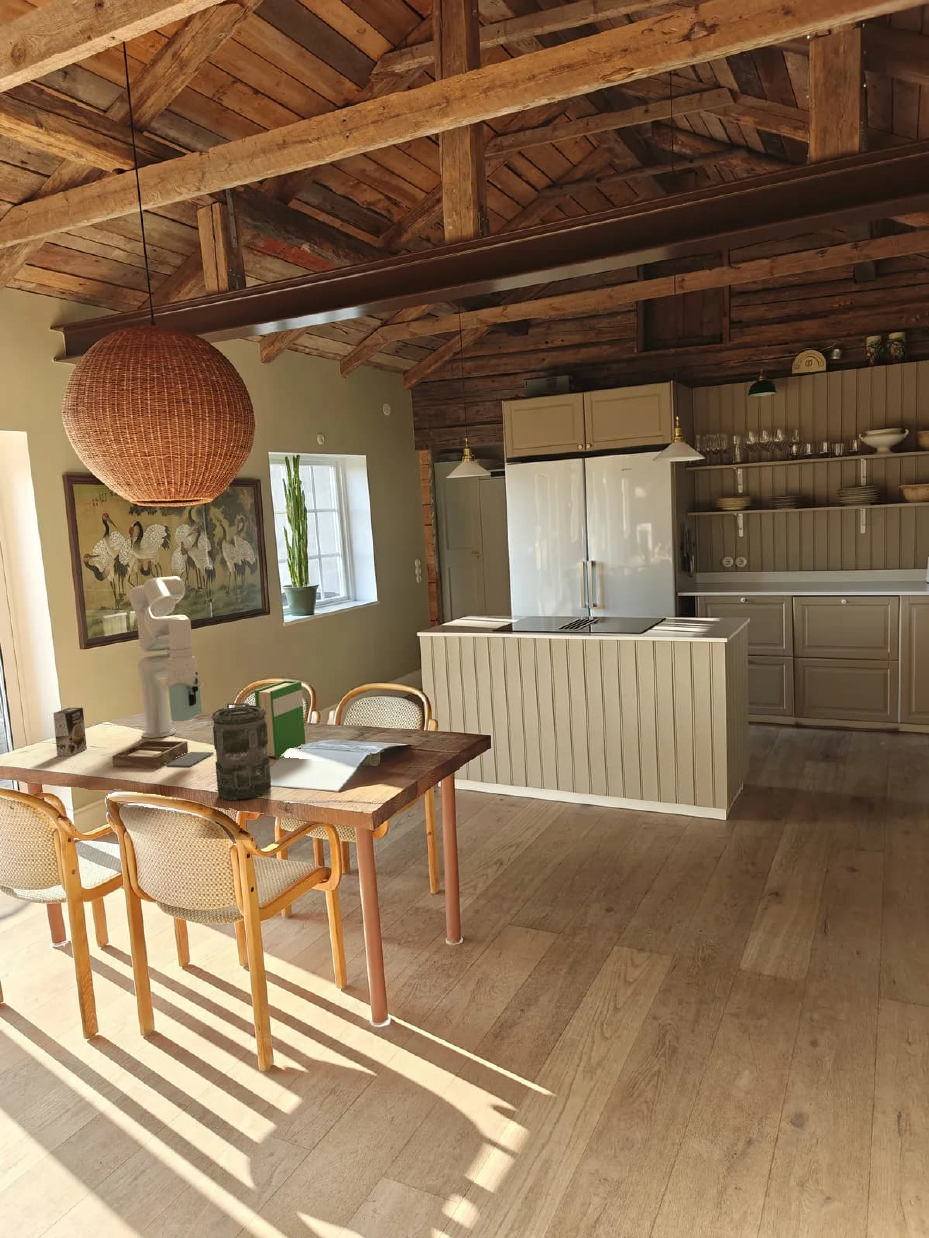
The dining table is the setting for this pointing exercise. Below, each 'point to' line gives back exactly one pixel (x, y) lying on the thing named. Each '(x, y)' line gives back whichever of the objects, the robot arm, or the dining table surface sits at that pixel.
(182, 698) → the pale green square slab
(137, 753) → the offcut upper
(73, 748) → the coffee box
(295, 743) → the hardback book
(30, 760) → the dining table surface
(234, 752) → the canister
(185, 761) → the mat
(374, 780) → the dining table surface
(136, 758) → the rack
